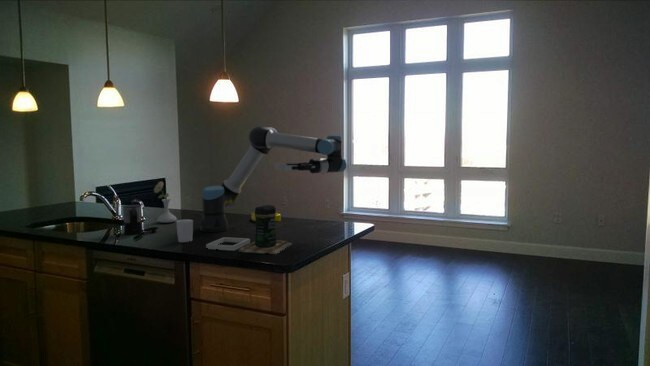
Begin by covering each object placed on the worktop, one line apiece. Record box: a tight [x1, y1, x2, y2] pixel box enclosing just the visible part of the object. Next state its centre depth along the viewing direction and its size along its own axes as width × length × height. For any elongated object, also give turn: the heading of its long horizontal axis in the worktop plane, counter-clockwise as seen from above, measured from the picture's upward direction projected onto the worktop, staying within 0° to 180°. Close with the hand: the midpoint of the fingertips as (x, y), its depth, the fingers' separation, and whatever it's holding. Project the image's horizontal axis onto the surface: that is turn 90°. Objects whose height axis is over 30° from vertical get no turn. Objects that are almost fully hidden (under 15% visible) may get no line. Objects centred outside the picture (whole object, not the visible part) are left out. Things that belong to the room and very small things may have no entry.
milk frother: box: [122, 204, 159, 236], centre depth 254 cm, size 14×16×15 cm
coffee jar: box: [254, 204, 277, 248], centre depth 215 cm, size 10×8×19 cm
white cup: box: [175, 218, 194, 243], centre depth 233 cm, size 8×8×10 cm
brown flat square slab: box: [238, 239, 293, 255], centre depth 216 cm, size 18×18×2 cm
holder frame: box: [205, 236, 251, 251], centre depth 221 cm, size 14×16×2 cm
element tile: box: [251, 212, 282, 223], centre depth 290 cm, size 15×15×5 cm
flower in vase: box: [153, 180, 178, 224], centre depth 283 cm, size 13×11×25 cm
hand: (279, 167), depth 238 cm, fingers open, 13 cm apart
